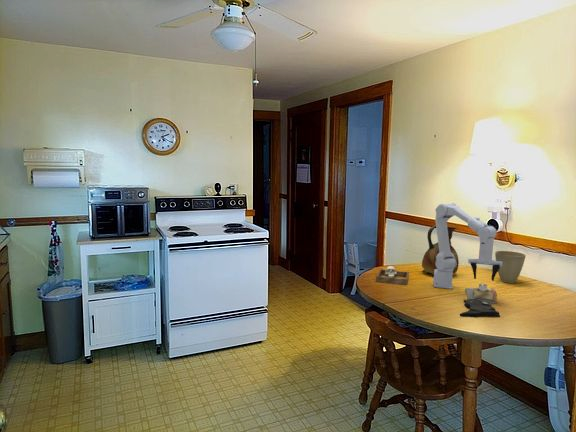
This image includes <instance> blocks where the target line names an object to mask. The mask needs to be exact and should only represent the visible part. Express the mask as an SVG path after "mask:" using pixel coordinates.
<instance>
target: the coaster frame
mask: <svg viewBox="0 0 576 432" xmlns="http://www.w3.org/2000/svg"><path fill="white" fill-rule="evenodd" d="M385 270H386V269H381V268H379V270H378V272H377V275H376V277H375V278H376V281H375V282H376V283H384V284H385V283H386V284H394V285H402V286H403V285H404V286H408V284H409V283H408V282H409V276H410V271H400V270H396V271H397V277H396V278H391V277H385Z"/></svg>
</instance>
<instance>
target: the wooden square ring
mask: <svg viewBox="0 0 576 432" xmlns="http://www.w3.org/2000/svg"><path fill="white" fill-rule="evenodd" d="M472 288H473V296H474V298H480V299H489V300H493V292H492V290H491V288H487V292H481V291H479V286H478V287H476V286H473V287H472Z"/></svg>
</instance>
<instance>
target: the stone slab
mask: <svg viewBox="0 0 576 432" xmlns="http://www.w3.org/2000/svg"><path fill="white" fill-rule="evenodd" d="M463 302H464V304H463V306H464V307H465V308H467V309H468V310H467V311H466V310H465V311H464V312H461V313H460V314H459V315H460V317H463V318H480V317H481V318H483V317H488V318H501V315H500V312H499V311H497V310H496V308H495V307H494V306H492V303H487V302H483V301H480V300H477V299H468V298H467V299H463Z"/></svg>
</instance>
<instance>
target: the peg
mask: <svg viewBox="0 0 576 432" xmlns="http://www.w3.org/2000/svg"><path fill="white" fill-rule="evenodd" d="M478 288H479V291H481V292H487V289H488V285H487V284H485V283H478Z"/></svg>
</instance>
